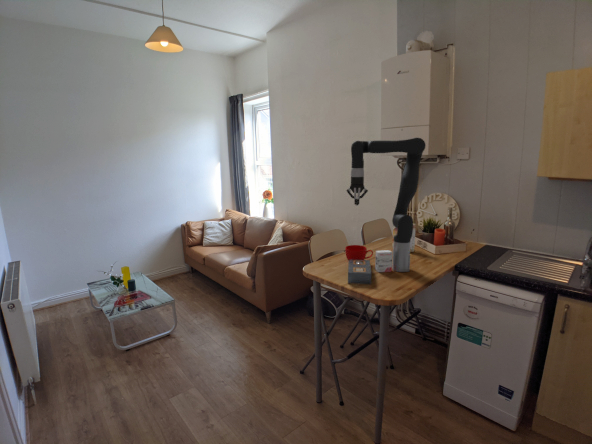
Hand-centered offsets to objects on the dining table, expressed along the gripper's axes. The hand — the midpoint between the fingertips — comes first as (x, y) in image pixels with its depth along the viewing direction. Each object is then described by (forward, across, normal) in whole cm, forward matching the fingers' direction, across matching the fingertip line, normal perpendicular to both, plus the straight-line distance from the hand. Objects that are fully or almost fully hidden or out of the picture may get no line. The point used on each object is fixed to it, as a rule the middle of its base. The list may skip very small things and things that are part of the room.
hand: (356, 205), depth 195 cm
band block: (+37, -2, +20) cm, 42 cm away
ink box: (+37, -16, +9) cm, 42 cm away
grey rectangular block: (+37, -2, +26) cm, 45 cm away
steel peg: (+37, -2, +14) cm, 40 cm away
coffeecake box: (+37, -33, -36) cm, 61 cm away
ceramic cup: (+37, -2, -2) cm, 37 cm away
